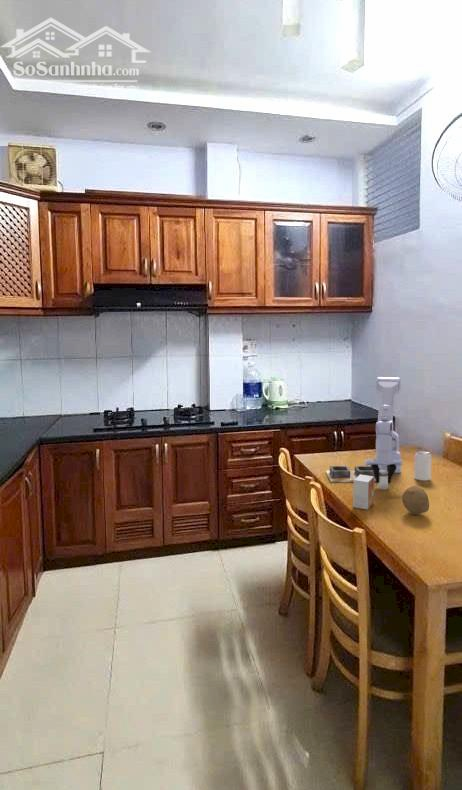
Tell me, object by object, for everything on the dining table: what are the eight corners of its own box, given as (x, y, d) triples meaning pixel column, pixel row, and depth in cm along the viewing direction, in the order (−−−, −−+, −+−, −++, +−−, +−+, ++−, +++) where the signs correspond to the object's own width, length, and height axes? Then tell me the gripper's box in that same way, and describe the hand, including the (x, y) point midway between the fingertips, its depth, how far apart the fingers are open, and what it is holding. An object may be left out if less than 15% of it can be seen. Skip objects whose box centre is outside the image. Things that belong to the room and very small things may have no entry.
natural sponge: (400, 507, 172) (401, 481, 170) (427, 510, 169) (428, 483, 167) (401, 517, 163) (402, 489, 162) (429, 520, 160) (430, 492, 159)
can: (431, 481, 200) (433, 454, 198) (415, 480, 201) (416, 453, 199) (428, 476, 206) (429, 450, 204) (413, 476, 207) (414, 449, 206)
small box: (367, 510, 170) (368, 482, 168) (352, 507, 173) (353, 479, 171) (374, 503, 177) (374, 476, 175) (359, 500, 180) (359, 473, 178)
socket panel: (372, 472, 214) (372, 463, 213) (380, 482, 200) (381, 473, 199) (325, 472, 215) (326, 464, 214) (330, 482, 201) (330, 473, 200)
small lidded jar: (386, 486, 195) (386, 470, 194) (389, 489, 191) (389, 473, 190) (376, 486, 195) (376, 470, 194) (378, 489, 191) (379, 473, 190)
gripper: (368, 452, 187) (367, 485, 189) (405, 452, 186) (403, 485, 188) (363, 448, 194) (363, 479, 196) (399, 448, 193) (398, 479, 195)
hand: (382, 482), depth 193 cm, fingers closed on small lidded jar, 4 cm apart
